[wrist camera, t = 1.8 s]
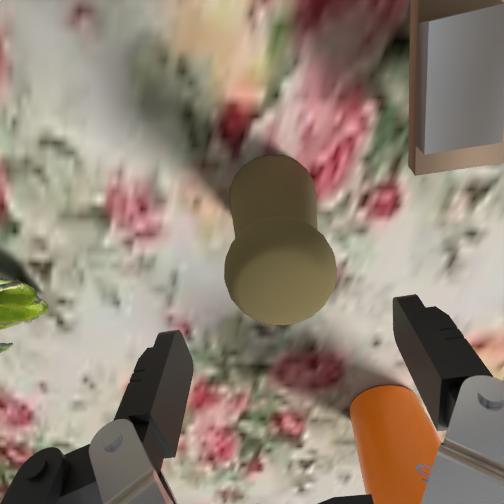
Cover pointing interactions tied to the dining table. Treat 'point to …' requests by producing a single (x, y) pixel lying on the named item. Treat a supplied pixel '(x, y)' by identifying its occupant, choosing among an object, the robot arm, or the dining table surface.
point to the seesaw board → (456, 84)
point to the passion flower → (18, 305)
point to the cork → (277, 244)
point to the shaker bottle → (393, 444)
